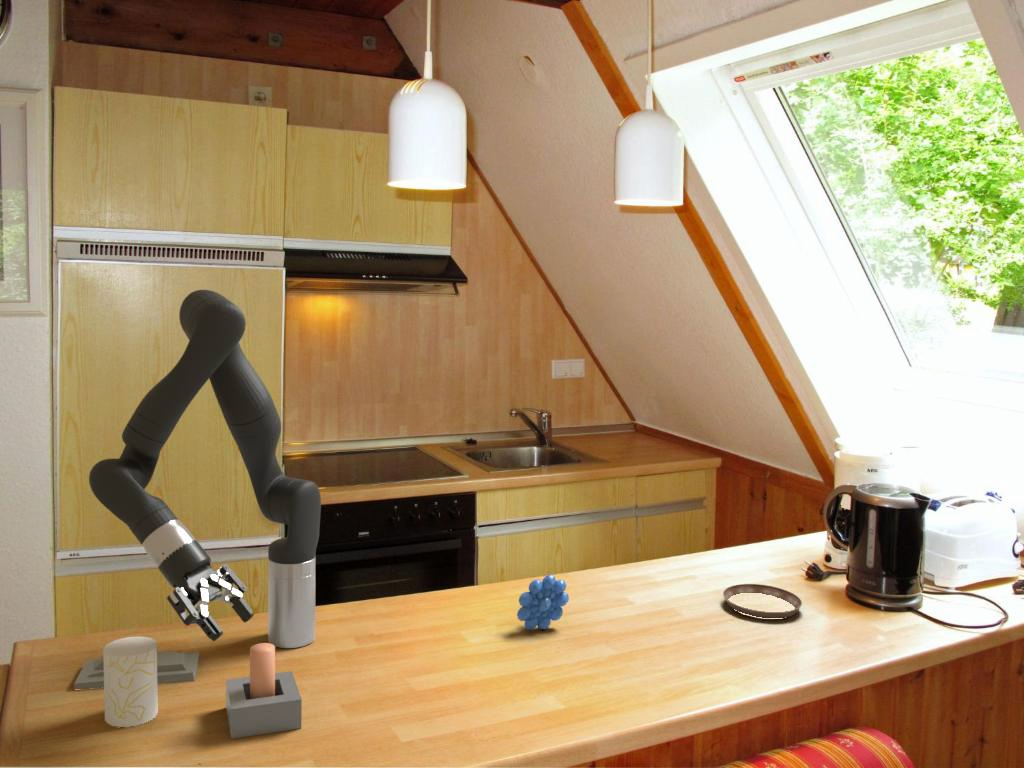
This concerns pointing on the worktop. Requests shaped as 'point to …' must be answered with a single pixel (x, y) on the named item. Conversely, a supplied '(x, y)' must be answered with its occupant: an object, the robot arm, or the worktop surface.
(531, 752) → the worktop surface
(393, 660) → the worktop surface
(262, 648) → the peg
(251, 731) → the socket block
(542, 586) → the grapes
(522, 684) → the worktop surface
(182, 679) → the soap mold
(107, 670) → the white patterned cylinder
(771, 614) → the dark grey ring
